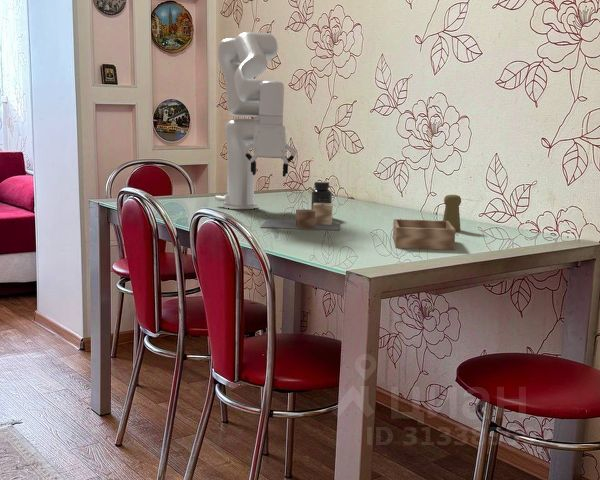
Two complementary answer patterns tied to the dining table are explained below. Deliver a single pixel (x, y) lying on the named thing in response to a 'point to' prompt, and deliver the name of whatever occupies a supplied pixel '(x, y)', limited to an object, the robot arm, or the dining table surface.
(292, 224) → the mat
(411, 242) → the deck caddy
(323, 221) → the maple block
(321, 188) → the supplement bottle
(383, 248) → the dining table surface
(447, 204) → the cork
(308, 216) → the walnut block
